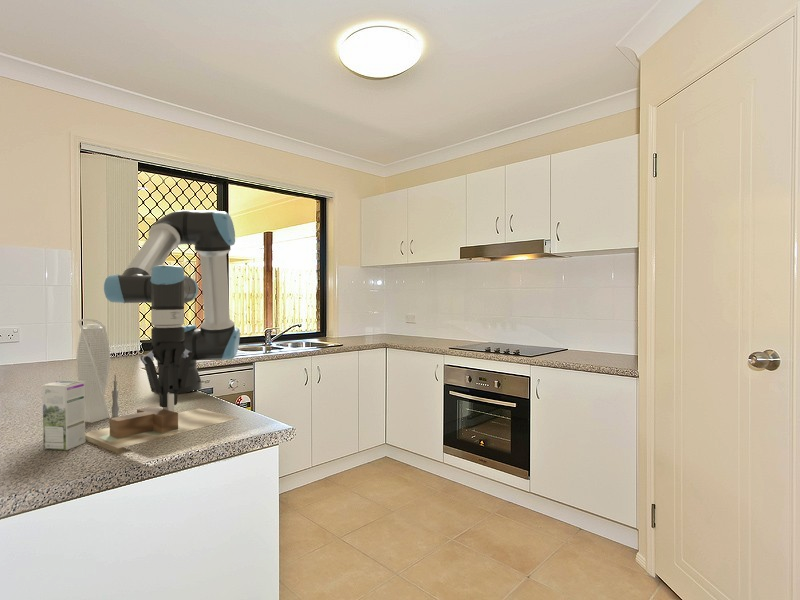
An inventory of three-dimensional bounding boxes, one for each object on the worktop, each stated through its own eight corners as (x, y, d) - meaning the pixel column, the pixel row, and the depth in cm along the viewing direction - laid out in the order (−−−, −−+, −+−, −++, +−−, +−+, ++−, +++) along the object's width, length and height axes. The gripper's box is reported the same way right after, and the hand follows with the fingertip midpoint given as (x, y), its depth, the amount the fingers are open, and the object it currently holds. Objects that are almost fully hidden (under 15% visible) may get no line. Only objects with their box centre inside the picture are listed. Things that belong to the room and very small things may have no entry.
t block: (153, 421, 118) (153, 406, 118) (178, 429, 112) (178, 412, 112) (102, 432, 109) (101, 416, 109) (126, 441, 102) (126, 423, 102)
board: (198, 412, 133) (198, 408, 133) (239, 422, 122) (239, 418, 122) (81, 438, 108) (81, 433, 108) (118, 454, 97) (118, 448, 97)
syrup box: (86, 442, 105) (86, 379, 105) (65, 451, 99) (65, 384, 99) (63, 441, 106) (63, 379, 106) (41, 450, 100) (41, 384, 100)
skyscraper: (94, 429, 116) (94, 319, 116) (67, 427, 118) (67, 319, 117) (120, 420, 124) (120, 317, 124) (95, 418, 126) (95, 317, 126)
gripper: (149, 328, 108) (149, 427, 108) (200, 325, 119) (200, 415, 119) (134, 327, 113) (134, 422, 113) (184, 324, 123) (185, 411, 123)
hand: (168, 418), depth 116 cm, fingers closed
